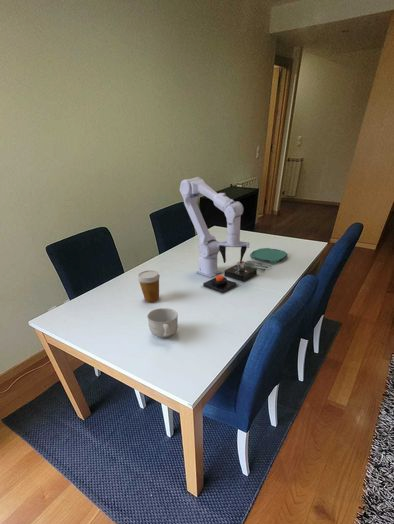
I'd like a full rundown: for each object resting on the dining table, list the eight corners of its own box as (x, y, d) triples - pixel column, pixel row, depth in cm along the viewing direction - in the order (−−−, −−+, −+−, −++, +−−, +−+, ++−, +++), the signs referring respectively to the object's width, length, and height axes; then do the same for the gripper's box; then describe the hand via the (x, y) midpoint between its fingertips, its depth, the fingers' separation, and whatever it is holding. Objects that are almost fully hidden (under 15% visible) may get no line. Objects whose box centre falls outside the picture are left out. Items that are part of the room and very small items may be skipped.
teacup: (151, 326, 113) (147, 308, 108) (178, 323, 113) (177, 305, 108) (149, 347, 102) (145, 328, 97) (180, 345, 102) (178, 325, 97)
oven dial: (241, 271, 143) (241, 264, 141) (235, 269, 145) (235, 262, 143) (246, 269, 145) (246, 262, 143) (239, 267, 147) (240, 260, 145)
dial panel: (224, 276, 147) (224, 270, 146) (237, 269, 153) (237, 263, 152) (243, 282, 141) (243, 276, 139) (256, 274, 147) (257, 268, 145)
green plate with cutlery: (292, 255, 165) (293, 251, 164) (267, 273, 147) (267, 269, 146) (261, 249, 176) (261, 245, 174) (234, 265, 158) (234, 261, 156)
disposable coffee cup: (166, 295, 133) (163, 270, 126) (157, 305, 126) (153, 279, 119) (147, 293, 136) (143, 269, 128) (137, 303, 129) (132, 277, 121)
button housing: (203, 286, 139) (203, 279, 137) (217, 279, 144) (217, 272, 142) (222, 293, 132) (222, 286, 130) (236, 286, 137) (236, 279, 135)
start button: (214, 280, 136) (214, 276, 135) (219, 277, 138) (219, 274, 137) (220, 282, 134) (220, 278, 133) (225, 279, 136) (225, 276, 135)
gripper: (250, 230, 132) (248, 259, 140) (218, 230, 134) (218, 259, 143) (249, 234, 126) (247, 265, 134) (216, 234, 129) (216, 264, 137)
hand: (232, 262), depth 138 cm, fingers open, 7 cm apart
